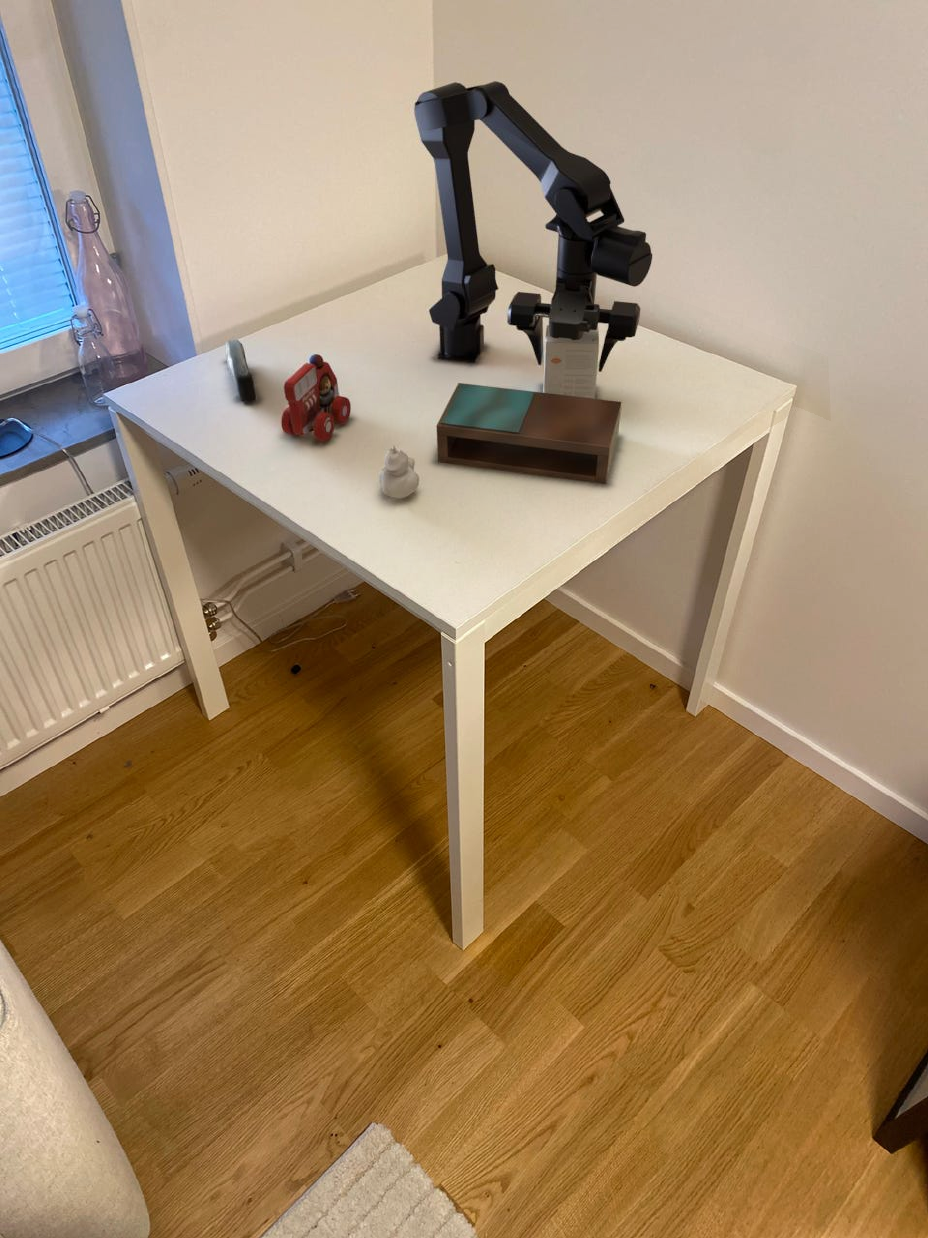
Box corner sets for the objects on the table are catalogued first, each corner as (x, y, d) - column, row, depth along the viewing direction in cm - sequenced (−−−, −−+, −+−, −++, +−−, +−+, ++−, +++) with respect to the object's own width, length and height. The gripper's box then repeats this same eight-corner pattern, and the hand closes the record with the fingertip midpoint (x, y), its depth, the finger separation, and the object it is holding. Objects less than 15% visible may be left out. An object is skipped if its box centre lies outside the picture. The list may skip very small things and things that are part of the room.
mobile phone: (254, 374, 142) (237, 329, 152) (235, 378, 142) (218, 332, 152) (260, 402, 146) (242, 357, 156) (240, 406, 145) (224, 360, 155)
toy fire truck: (358, 410, 143) (351, 347, 136) (318, 452, 135) (309, 388, 128) (318, 402, 145) (309, 339, 138) (277, 443, 137) (265, 379, 130)
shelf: (437, 461, 133) (436, 424, 129) (459, 418, 141) (458, 381, 137) (605, 484, 128) (610, 445, 124) (617, 437, 137) (621, 400, 132)
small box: (594, 388, 147) (600, 325, 140) (594, 406, 143) (600, 342, 136) (543, 386, 148) (546, 323, 141) (542, 404, 144) (545, 340, 136)
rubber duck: (371, 499, 127) (366, 449, 121) (395, 473, 131) (391, 424, 125) (406, 509, 125) (402, 459, 119) (429, 483, 129) (427, 433, 124)
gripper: (499, 284, 127) (498, 386, 138) (636, 297, 124) (624, 401, 135) (516, 251, 135) (514, 351, 146) (646, 263, 132) (634, 364, 142)
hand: (570, 367), depth 142 cm, fingers open, 9 cm apart
